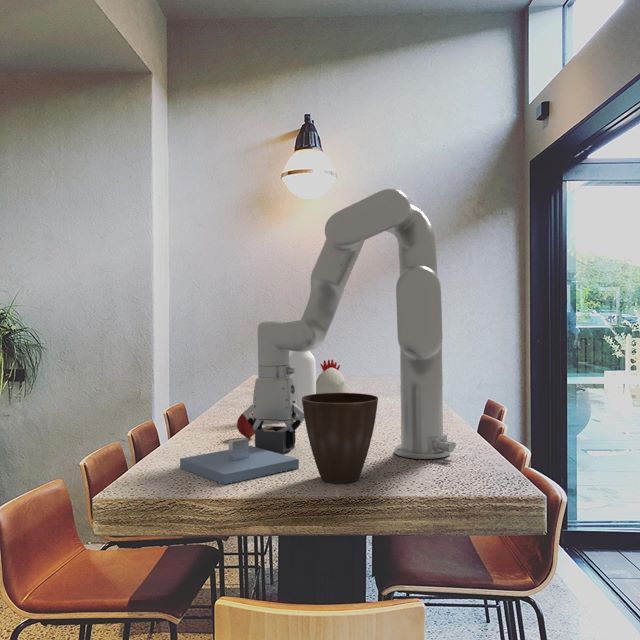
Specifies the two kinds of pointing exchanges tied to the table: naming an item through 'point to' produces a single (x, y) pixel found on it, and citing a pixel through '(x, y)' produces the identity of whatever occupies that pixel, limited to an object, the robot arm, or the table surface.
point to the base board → (238, 465)
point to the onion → (245, 427)
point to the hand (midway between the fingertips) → (275, 446)
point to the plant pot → (340, 432)
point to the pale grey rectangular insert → (238, 449)
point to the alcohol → (303, 375)
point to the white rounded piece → (331, 380)
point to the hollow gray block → (272, 439)
